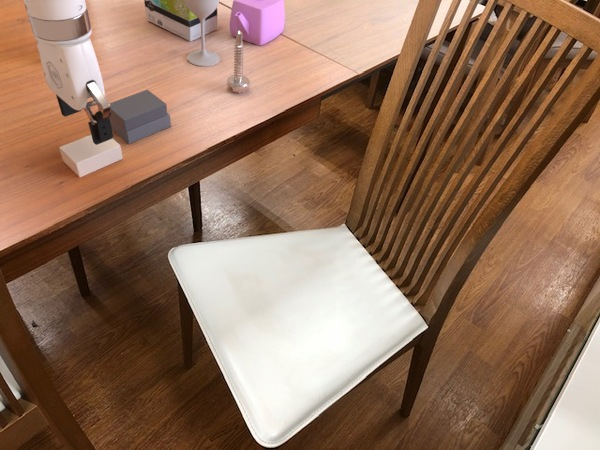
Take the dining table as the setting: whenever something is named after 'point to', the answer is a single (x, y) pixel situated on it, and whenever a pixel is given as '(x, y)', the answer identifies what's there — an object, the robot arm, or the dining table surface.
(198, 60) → the wineglass
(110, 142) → the white block
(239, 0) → the teapot
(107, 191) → the dining table surface
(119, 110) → the grey stack
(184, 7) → the tea box
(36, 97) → the dining table surface
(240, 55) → the screw
